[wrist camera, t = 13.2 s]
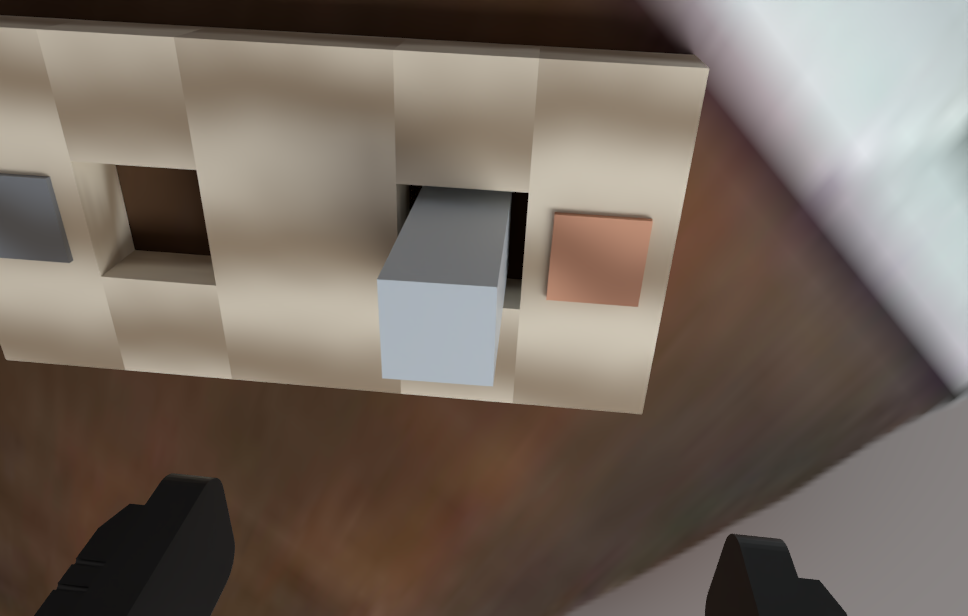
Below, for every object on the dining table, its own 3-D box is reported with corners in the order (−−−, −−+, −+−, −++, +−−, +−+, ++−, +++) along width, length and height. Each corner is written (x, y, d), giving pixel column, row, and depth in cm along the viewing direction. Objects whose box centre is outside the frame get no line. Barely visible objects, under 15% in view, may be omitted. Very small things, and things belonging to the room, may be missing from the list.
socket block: (-59, 11, 30) (-124, 21, 27) (694, 54, 28) (711, 69, 25) (44, 329, 37) (1, 363, 35) (635, 378, 36) (642, 418, 33)
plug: (425, 180, 31) (376, 279, 23) (512, 185, 31) (497, 287, 22) (426, 259, 33) (382, 378, 25) (508, 265, 33) (492, 386, 24)
